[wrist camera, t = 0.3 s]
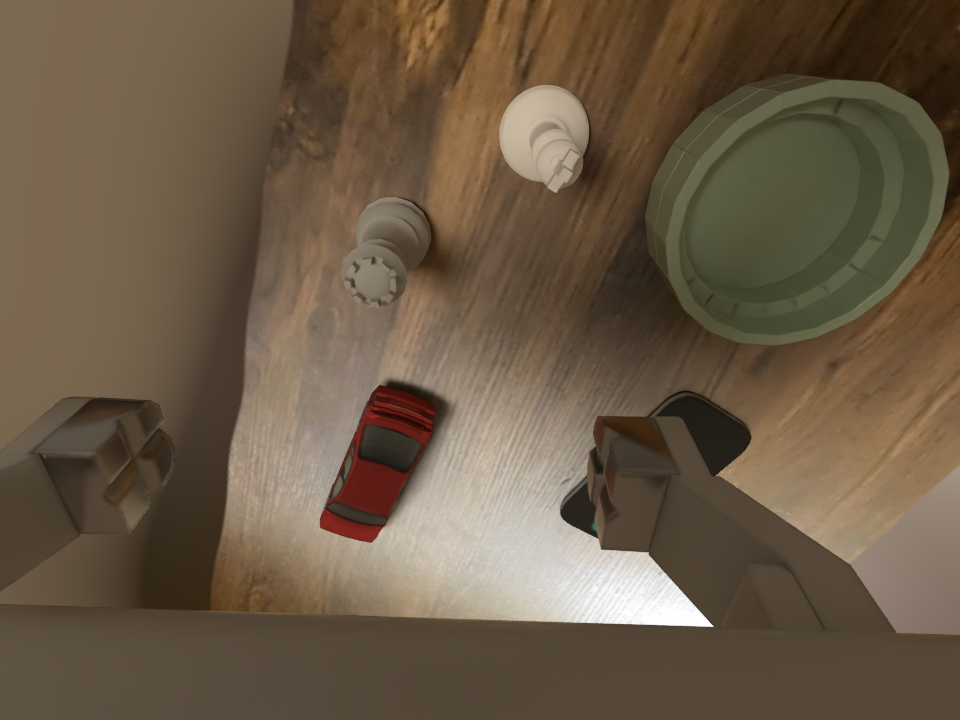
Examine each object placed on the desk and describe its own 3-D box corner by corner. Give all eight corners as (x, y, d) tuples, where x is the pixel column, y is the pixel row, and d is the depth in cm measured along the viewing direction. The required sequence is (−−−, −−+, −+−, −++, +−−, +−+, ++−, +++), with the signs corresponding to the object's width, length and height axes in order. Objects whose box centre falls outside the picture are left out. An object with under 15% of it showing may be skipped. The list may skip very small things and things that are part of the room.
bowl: (673, 65, 28) (706, 71, 24) (927, 81, 28) (1006, 90, 24) (623, 301, 35) (642, 338, 31) (828, 312, 35) (875, 351, 31)
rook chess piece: (435, 200, 32) (420, 246, 25) (428, 271, 34) (413, 330, 27) (359, 189, 32) (323, 232, 25) (357, 261, 34) (323, 319, 27)
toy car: (453, 398, 39) (448, 442, 35) (374, 525, 46) (363, 576, 42) (382, 367, 38) (369, 409, 34) (313, 503, 45) (294, 552, 40)
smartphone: (552, 517, 44) (685, 389, 37) (551, 509, 44) (681, 383, 38) (624, 553, 46) (762, 438, 39) (622, 545, 47) (757, 431, 40)
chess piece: (482, 152, 30) (480, 198, 22) (530, 65, 28) (547, 79, 20) (555, 196, 32) (580, 257, 23) (606, 117, 29) (655, 151, 21)
